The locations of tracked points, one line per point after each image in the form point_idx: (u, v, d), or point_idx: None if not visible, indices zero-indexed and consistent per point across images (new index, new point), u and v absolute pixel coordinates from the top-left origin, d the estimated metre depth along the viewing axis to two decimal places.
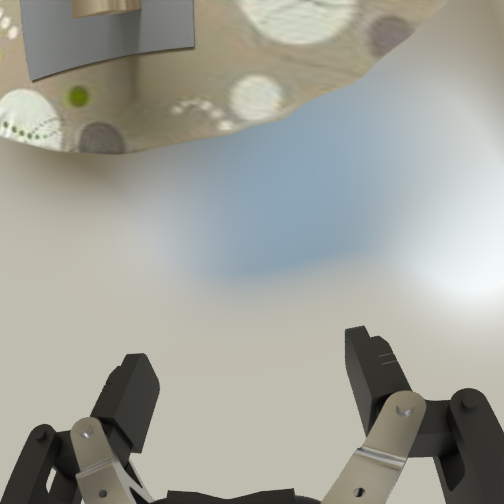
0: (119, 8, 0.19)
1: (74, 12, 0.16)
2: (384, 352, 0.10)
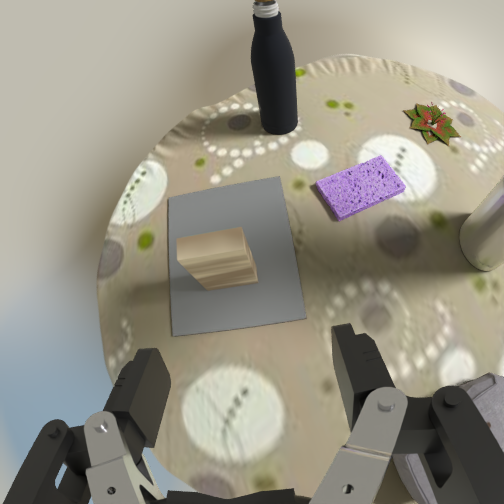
0: (191, 274, 0.36)
1: (181, 239, 0.33)
2: (369, 349, 0.10)
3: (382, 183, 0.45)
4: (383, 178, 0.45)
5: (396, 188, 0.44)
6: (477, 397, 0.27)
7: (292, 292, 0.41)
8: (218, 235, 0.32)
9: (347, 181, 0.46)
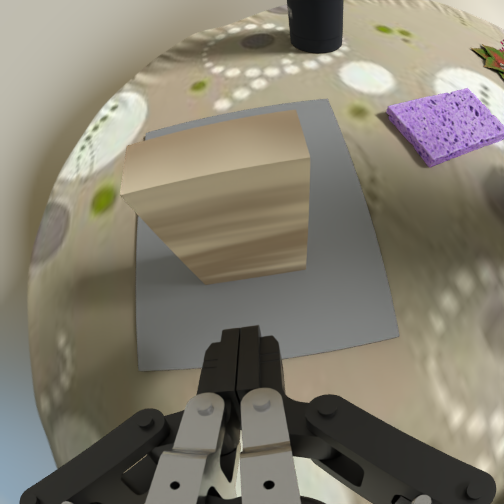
0: (167, 242, 0.15)
1: (137, 146, 0.12)
2: (271, 351, 0.11)
3: (479, 122, 0.23)
4: (478, 116, 0.24)
5: (497, 131, 0.23)
6: None
7: (372, 286, 0.20)
8: (234, 128, 0.11)
9: (432, 112, 0.24)
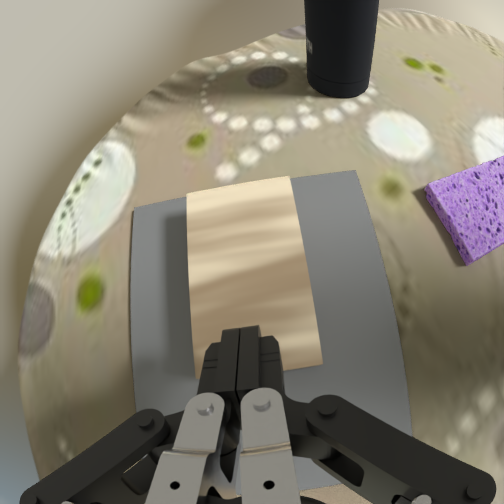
0: (189, 255, 0.19)
1: None
2: (271, 351, 0.11)
3: None
4: None
5: None
6: None
7: (393, 420, 0.16)
8: None
9: (476, 190, 0.21)
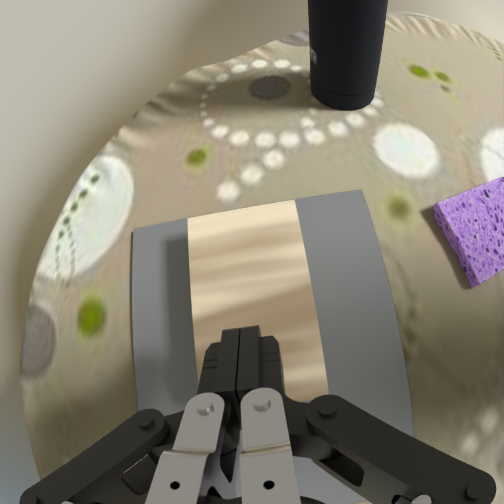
0: (192, 285, 0.19)
1: None
2: (271, 351, 0.11)
3: None
4: None
5: None
6: None
7: None
8: None
9: (485, 209, 0.20)
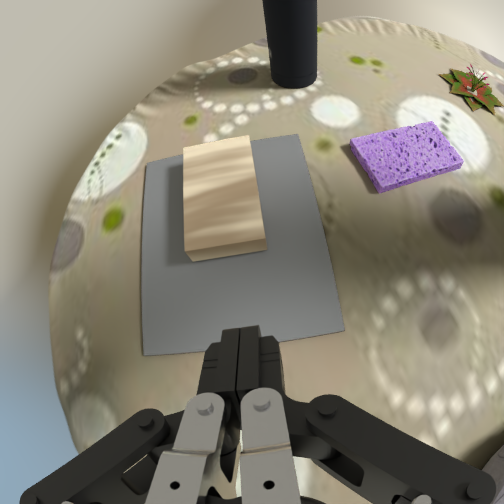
0: (184, 181, 0.30)
1: None
2: (271, 351, 0.11)
3: (435, 153, 0.31)
4: (436, 147, 0.31)
5: (452, 162, 0.30)
6: None
7: (323, 291, 0.27)
8: None
9: (391, 144, 0.32)
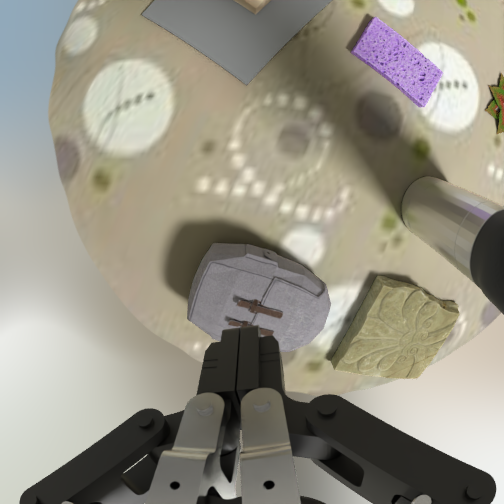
0: None
1: None
2: (271, 351, 0.11)
3: (413, 81, 0.34)
4: (420, 81, 0.34)
5: (416, 97, 0.35)
6: (297, 287, 0.39)
7: (258, 58, 0.34)
8: None
9: (394, 45, 0.32)
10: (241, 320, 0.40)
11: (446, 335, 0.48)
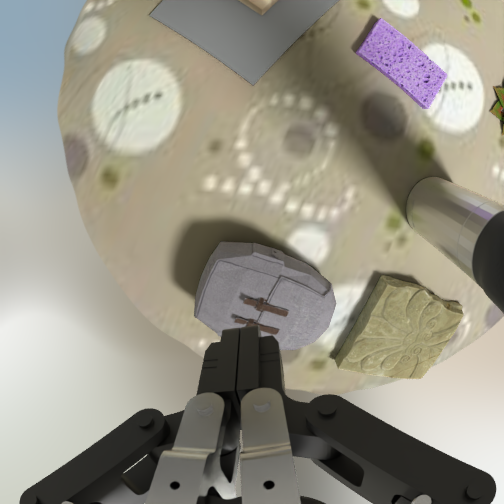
0: None
1: None
2: (271, 351, 0.11)
3: (418, 83, 0.34)
4: (424, 82, 0.34)
5: (420, 98, 0.35)
6: (302, 286, 0.40)
7: (264, 59, 0.34)
8: None
9: (399, 47, 0.32)
10: (247, 318, 0.40)
11: (450, 336, 0.47)
